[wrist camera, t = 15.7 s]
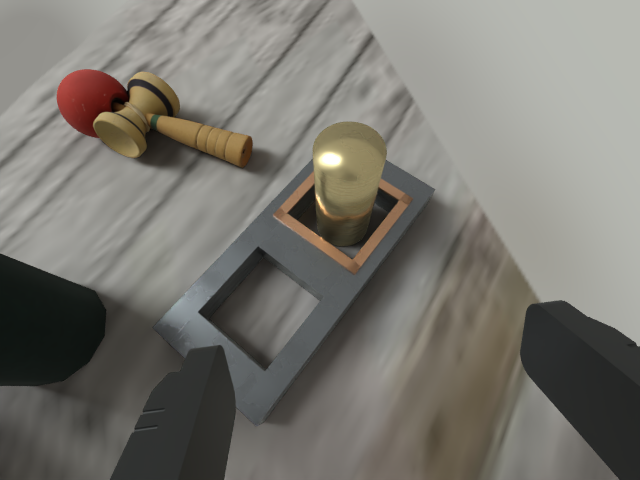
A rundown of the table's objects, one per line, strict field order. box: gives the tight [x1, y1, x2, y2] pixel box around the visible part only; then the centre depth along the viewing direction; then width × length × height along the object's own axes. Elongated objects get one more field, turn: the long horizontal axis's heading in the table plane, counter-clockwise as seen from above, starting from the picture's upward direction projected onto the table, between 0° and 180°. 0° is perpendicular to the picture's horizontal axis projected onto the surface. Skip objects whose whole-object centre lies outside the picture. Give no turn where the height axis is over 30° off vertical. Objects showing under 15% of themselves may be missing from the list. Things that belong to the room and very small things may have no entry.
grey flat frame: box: [153, 159, 435, 426], centre depth 27 cm, size 10×22×3 cm, turn 142°
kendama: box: [57, 69, 253, 168], centre depth 32 cm, size 8×6×18 cm
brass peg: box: [313, 122, 387, 246], centre depth 25 cm, size 4×4×10 cm
